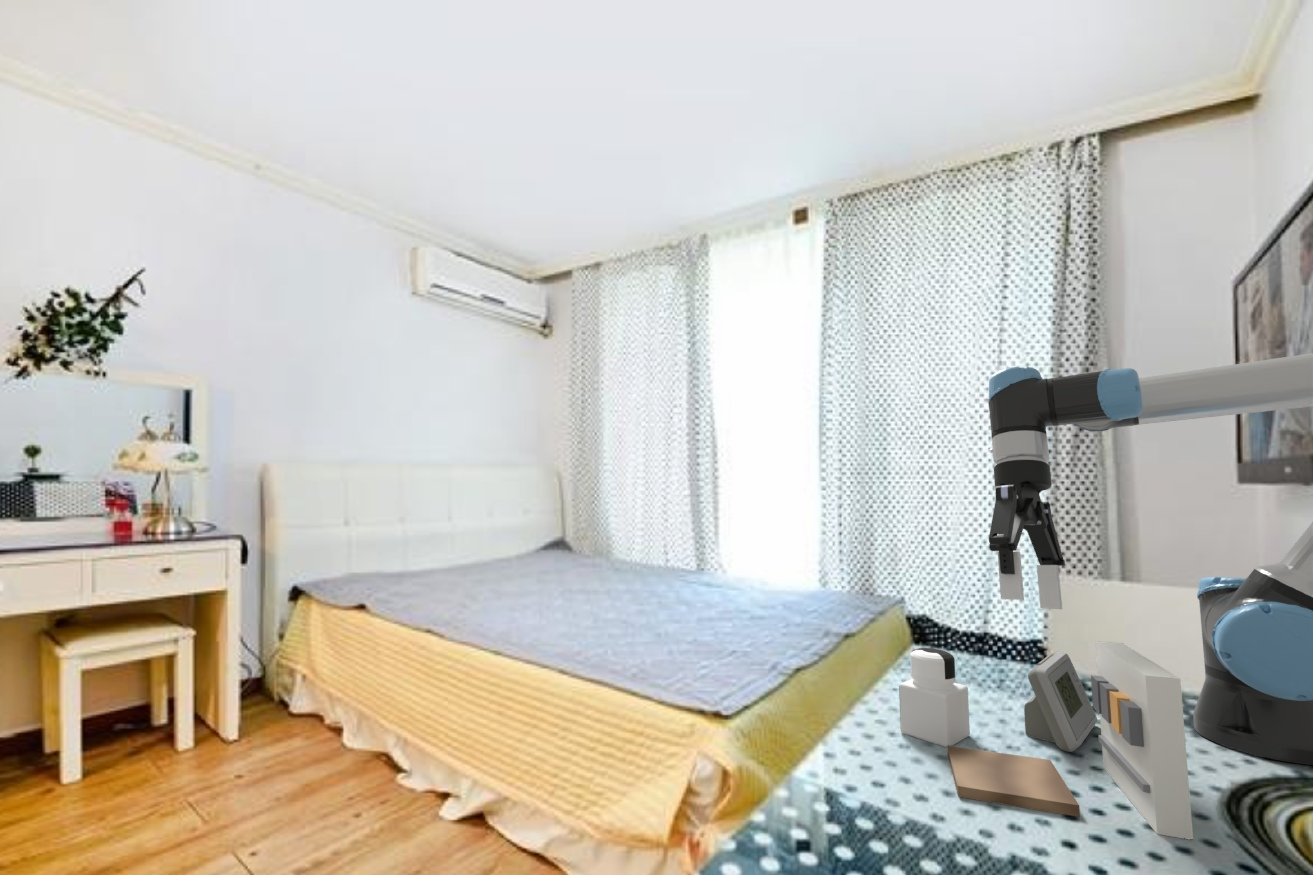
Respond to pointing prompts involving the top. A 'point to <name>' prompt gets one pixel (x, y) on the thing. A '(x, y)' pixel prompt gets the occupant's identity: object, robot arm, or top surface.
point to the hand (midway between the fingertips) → (1032, 604)
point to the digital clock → (1058, 704)
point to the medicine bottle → (934, 699)
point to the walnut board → (1010, 780)
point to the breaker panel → (1143, 736)
